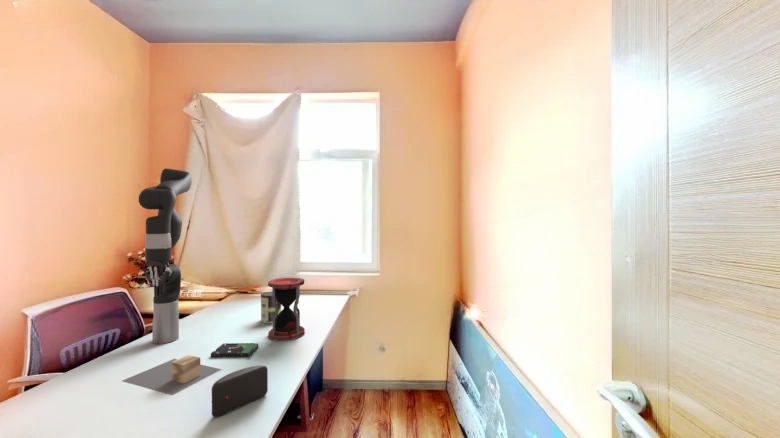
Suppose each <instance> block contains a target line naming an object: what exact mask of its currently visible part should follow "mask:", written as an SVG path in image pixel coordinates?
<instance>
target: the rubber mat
mask: <svg viewBox="0 0 780 438" xmlns="http://www.w3.org/2000/svg"><path fill="white" fill-rule="evenodd" d="M177 359H178V358H172V359H170V360H167V361H165V362H163V363H161V364H158V365H156V366H154V367H151V368H149V369H146V370H143V371H142V372H139V373H137V374H135V375H132V376H130V377H127V378H125V379H123V380H121V382H124V383H128V384H132V385H134V386H135V385H136V386H139V387H143V388H145V389H149V390H153V391H157V392H159V393H164V394H166V395H171V396H174V395H175V394H177V393H179V392H181V391H184V390H185V389H187V388H189V387H191V386H193V385H194V384H197V383H198V382H200V381H202V380H204V379H206V378H208V377H210V376H212V375H214V374H216V373H218V372H219V371H221V370H222V369H221V368H218V367H214V366H210V365H204V364H200V376H198V377H196V378H194V379H192V380H190V381H188V382H186V383H180V382H176V381H172V380H171V362H172V361H175V360H177Z"/></svg>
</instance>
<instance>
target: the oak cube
mask: <svg viewBox="0 0 780 438" xmlns="http://www.w3.org/2000/svg"><path fill="white" fill-rule="evenodd" d="M176 359H177V360H175V361H172V362H171V380H172V381H176V382H180V383H186V382H188V381H190V380H192V379H194V378H196V377H198V376H200V365H201V357H199V356H194V355H190V354H187V355H184V356H182V357H179V358H176Z"/></svg>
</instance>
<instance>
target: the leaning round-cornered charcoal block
mask: <svg viewBox="0 0 780 438" xmlns="http://www.w3.org/2000/svg"><path fill="white" fill-rule="evenodd" d="M268 378H269V377H268V366H266V365H264V364H258V365H252V366H248V367H244V368H241V369H238V370H235V371H233V372H230V373H228V374H226V375H224V376H222V377H220V378H219V379H218V380H216V381H215V382H214V383H213V385H212V386H211V415H212V417H214V418H218V417H221V416H223V415H225V414H228V413H229V412H232V411H234V410H236V409H240V408H241V407H243V406H245V405H247V404H250V403H252V402H255V401H256V400H258V399H260V398H261V399H262V398H263V397H265V395H266V394H267V393H268V390H269V389H268V388H269V387H268V382H269V381H268V380H269V379H268Z"/></svg>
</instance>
